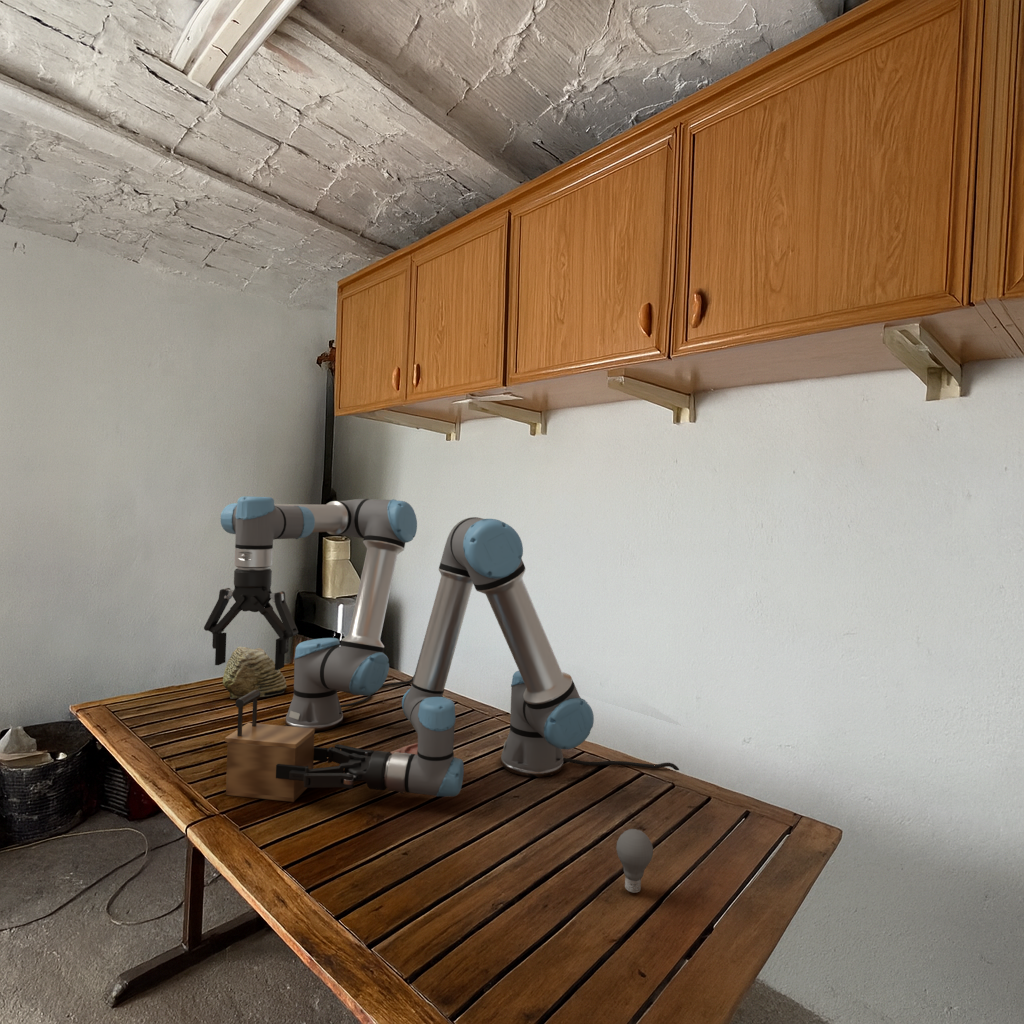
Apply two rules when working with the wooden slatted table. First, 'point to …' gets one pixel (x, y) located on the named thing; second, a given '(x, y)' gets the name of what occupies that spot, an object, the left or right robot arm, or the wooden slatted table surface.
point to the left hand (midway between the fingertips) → (249, 666)
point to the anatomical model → (408, 749)
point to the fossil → (252, 674)
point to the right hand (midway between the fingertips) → (288, 761)
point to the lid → (265, 729)
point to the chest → (266, 770)
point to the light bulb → (634, 857)
